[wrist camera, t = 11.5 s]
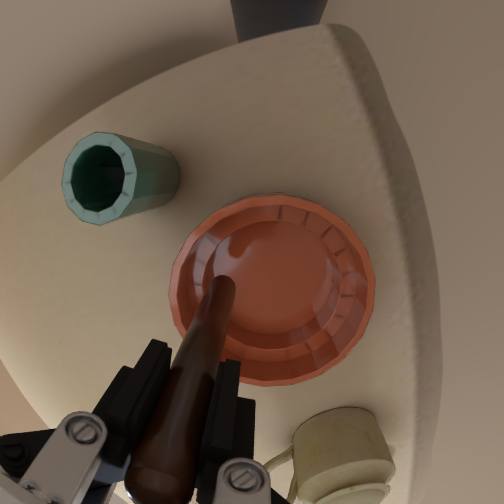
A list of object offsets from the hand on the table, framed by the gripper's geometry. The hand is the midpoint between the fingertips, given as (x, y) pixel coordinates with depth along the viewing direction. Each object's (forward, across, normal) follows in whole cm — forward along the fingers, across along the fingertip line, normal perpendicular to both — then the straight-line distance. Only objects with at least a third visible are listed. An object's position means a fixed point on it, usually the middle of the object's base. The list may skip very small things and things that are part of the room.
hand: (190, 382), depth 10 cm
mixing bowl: (+16, -4, 0) cm, 16 cm away
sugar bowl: (+16, -16, +20) cm, 30 cm away
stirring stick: (+10, 0, 0) cm, 10 cm away
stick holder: (+16, +8, -6) cm, 19 cm away
